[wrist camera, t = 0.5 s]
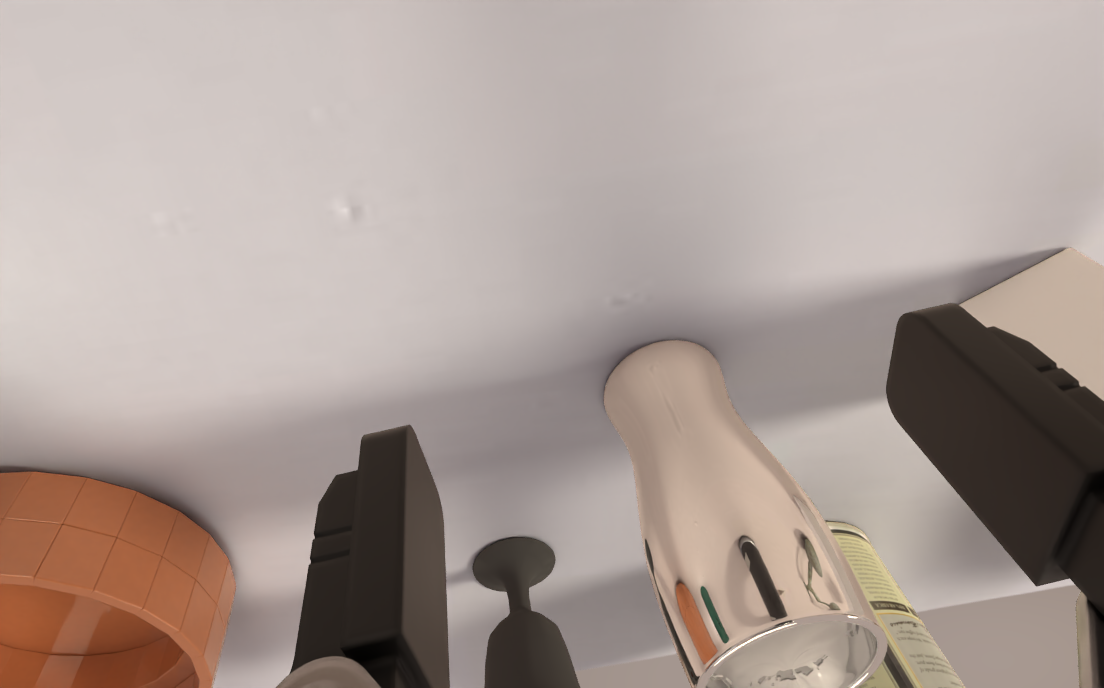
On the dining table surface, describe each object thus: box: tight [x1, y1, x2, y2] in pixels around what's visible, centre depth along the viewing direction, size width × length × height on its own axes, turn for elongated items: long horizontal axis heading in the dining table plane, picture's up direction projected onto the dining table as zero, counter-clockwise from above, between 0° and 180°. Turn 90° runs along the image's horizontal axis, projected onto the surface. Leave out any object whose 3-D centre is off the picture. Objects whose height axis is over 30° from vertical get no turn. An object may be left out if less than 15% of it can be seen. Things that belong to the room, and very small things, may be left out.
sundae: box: [473, 537, 580, 688], centre depth 35 cm, size 7×7×15 cm
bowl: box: [0, 472, 236, 688], centre depth 33 cm, size 16×16×6 cm
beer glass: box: [604, 340, 888, 688], centre depth 28 cm, size 7×7×15 cm
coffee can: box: [826, 522, 965, 688], centre depth 40 cm, size 10×10×14 cm
